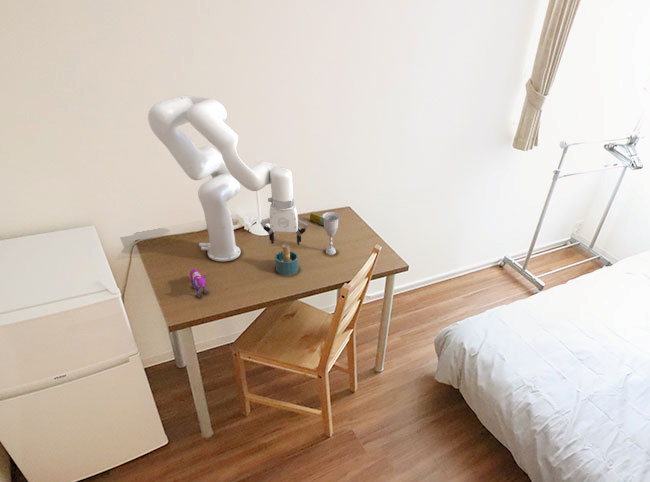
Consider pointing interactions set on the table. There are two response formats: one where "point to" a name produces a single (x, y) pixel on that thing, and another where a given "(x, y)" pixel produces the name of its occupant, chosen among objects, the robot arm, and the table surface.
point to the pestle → (286, 253)
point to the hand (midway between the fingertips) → (285, 242)
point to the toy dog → (197, 280)
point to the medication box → (317, 218)
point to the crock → (286, 264)
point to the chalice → (330, 228)
